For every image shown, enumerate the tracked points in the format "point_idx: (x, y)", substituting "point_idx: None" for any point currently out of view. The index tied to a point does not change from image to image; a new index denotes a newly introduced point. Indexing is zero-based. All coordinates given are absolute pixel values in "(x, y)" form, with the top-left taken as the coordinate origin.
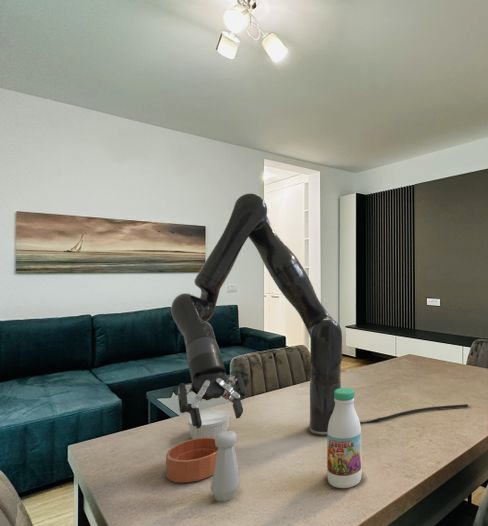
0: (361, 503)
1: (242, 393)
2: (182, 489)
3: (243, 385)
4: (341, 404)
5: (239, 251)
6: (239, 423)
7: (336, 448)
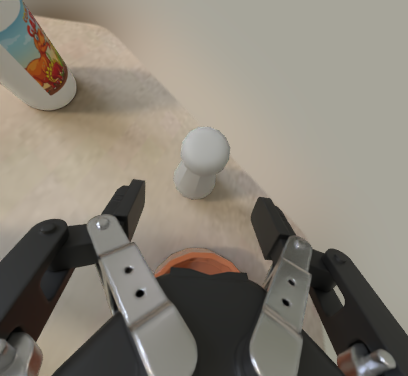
0: (83, 42)
1: (66, 227)
2: (229, 245)
3: (4, 269)
4: None
5: None
6: None
7: (36, 23)
